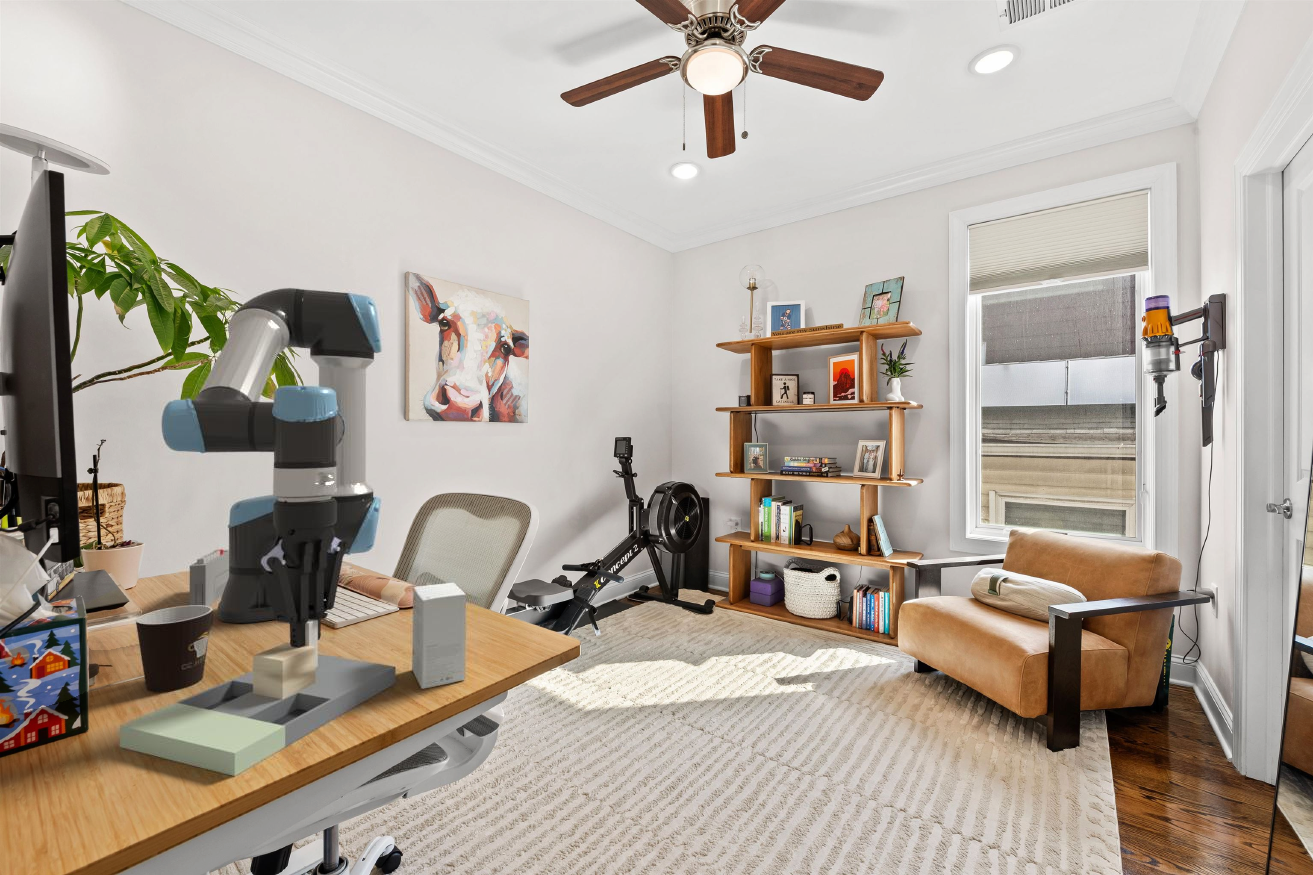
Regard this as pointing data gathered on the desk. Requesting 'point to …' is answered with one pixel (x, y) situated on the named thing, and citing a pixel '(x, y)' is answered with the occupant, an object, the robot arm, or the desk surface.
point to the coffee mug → (174, 646)
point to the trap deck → (252, 717)
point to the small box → (439, 634)
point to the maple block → (284, 670)
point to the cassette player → (209, 578)
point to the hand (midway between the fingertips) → (305, 666)
